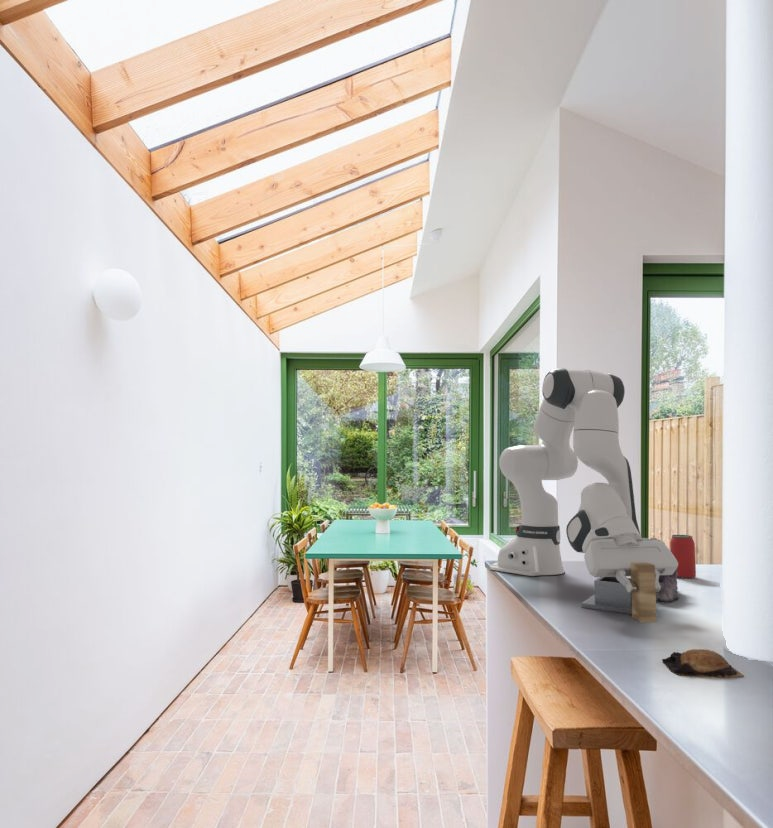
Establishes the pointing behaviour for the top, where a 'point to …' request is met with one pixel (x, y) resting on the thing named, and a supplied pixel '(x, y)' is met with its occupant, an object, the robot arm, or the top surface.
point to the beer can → (684, 555)
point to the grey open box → (609, 596)
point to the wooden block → (643, 592)
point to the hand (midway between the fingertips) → (644, 590)
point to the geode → (667, 588)
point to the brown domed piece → (700, 664)
